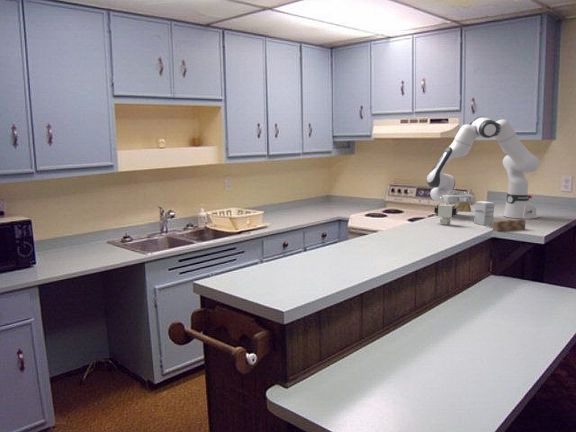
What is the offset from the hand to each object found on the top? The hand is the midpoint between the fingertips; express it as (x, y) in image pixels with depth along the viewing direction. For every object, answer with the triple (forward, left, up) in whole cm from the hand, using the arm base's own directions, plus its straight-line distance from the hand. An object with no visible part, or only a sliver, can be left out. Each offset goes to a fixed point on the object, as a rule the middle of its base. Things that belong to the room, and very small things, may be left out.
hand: (467, 199), depth 300 cm
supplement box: (0, +13, -12) cm, 18 cm away
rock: (-25, -31, -12) cm, 42 cm away
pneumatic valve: (+22, +7, -12) cm, 26 cm away
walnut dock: (0, +26, -12) cm, 29 cm away
